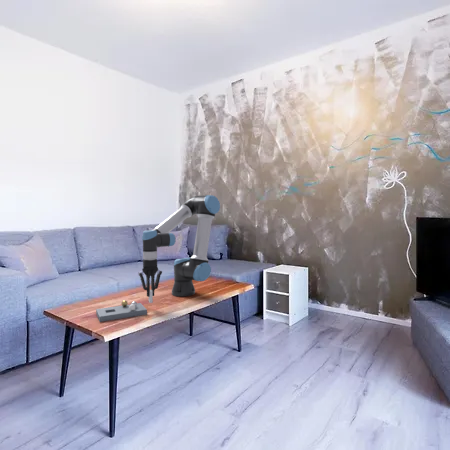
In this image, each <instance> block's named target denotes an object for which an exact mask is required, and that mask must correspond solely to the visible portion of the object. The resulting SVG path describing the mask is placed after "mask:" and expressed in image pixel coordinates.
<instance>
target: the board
mask: <svg viewBox="0 0 450 450" xmlns="http://www.w3.org/2000/svg"><path fill="white" fill-rule="evenodd" d="M130 305H131V303H130V304H127V306H122V305H118V306H117V305H116V306H109V307H102V308H95V313H96V314H95V315H96V317H97V319H98V321H99V322H100V323H101V322H108V321H115V320H120V319H125V318H133V317H138V316H144V315H148V309H147V308H146V307H145V306H144V305H143V304H142V303H141V302H139V303H138V302H137V306H136V308H135V310H133V311H131V310H130V309H129V306H130Z"/></svg>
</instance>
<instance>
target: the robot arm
mask: <svg viewBox="0 0 450 450" xmlns="http://www.w3.org/2000/svg"><path fill="white" fill-rule="evenodd" d="M220 203H221V202H220V200H219V199H218V197H216V196H215V195H212V194H211V195H210V194H205V195H196V196H193V197H190V198H189V199H188V200H186V201H185V202H183V203H182V204H181V205H180V207H179V208H178V210H176V211H174V212H173V213H172V214H171V215H169V216H168V217H167V218H165V220H163V221H162V222H161V223H160V224H159V225H157V226H155V227H154V228H153V229H152V230H151V229H149V230H143V232H142V235H141V241H142V259H143V260H142V270H140V271H139V272H138V273H137V274H138V276H139V278H140V281H141V286H142V289H143V290H144V291H146V297H148V302H149V303H150V304H152V303H154V301H153V299H154V297H155V290H156V289H159V284H160V280H161V275H162V273H163V271H162V270H160V269H159V267H158V248H163V247H164V248H165V247H167V248H168V247H172V246H174V245H175V244H176V236H175V234H174V233H172V232H171V231H173V230H174V229H176V228H177V227H178V226H179V225H180V224H181V223H182V222H184V221H185V220H186V219H187V218H191V217H192V216H194V215H196V216H197V218H198V220H197V226H196V227H197V228H196V232H195V240H194V246H193V254H192V255H191V257H185V258H176V259H175V260H174V262H173V275H174V276H173V280H174V282H173V285H172V287H171V288H172V289H171V296H174V297H189V296H193V295H195V294H196V289H195V286H194V283H193V281H195V282H204V281H207V279H208V278H209V277H210V275H211V274H212V267H211V265H210V263H209V261H210V260H209V259H208V250H209V243H210V236H211V228H212V222H213V220H214V219H215V217H216V214H218V213H219V211H220V209H221V204H220ZM144 275H145V277H146V279H145V278H144ZM155 275H156V278H155Z"/></svg>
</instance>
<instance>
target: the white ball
mask: <svg viewBox="0 0 450 450" xmlns="http://www.w3.org/2000/svg"><path fill="white" fill-rule="evenodd" d="M130 304H131V303H130ZM135 308H136V307H135V305H134V304H131V305H130V306H129V309H130V310H131V311H133V310H135Z"/></svg>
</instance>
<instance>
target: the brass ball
mask: <svg viewBox="0 0 450 450" xmlns="http://www.w3.org/2000/svg"><path fill="white" fill-rule="evenodd" d="M128 303H129V302H128V300H124V299H123V300H122V301H121V306H127V305H129V304H128Z"/></svg>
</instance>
